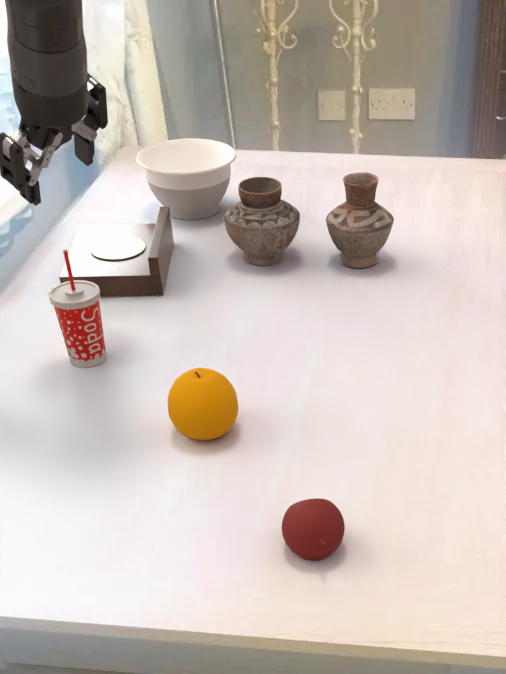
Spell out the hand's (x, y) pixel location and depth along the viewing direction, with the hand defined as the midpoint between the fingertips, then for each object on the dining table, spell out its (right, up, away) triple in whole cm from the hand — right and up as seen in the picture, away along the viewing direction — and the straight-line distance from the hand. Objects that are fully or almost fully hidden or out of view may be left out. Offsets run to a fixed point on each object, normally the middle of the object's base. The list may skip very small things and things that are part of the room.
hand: (58, 179), depth 105 cm
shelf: (+1, 0, +28) cm, 28 cm away
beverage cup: (+1, -18, +10) cm, 21 cm away
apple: (+18, -30, -2) cm, 35 cm away
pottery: (+29, +2, +31) cm, 42 cm away
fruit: (+31, -45, -17) cm, 57 cm away
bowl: (+9, +16, +44) cm, 48 cm away
